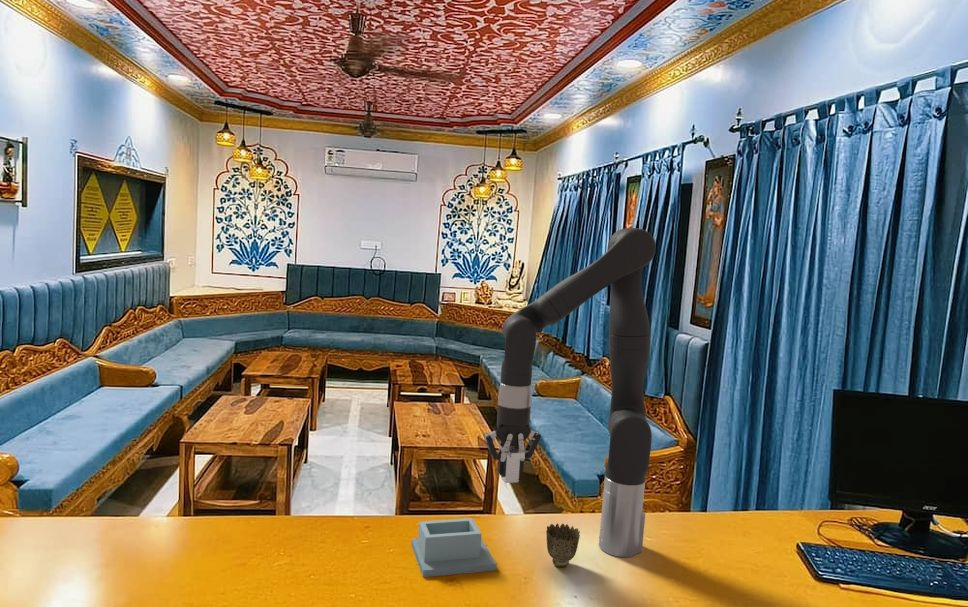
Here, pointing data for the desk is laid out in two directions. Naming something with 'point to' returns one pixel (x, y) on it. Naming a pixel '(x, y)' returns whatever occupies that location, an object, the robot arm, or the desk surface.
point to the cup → (562, 543)
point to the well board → (451, 548)
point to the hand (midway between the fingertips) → (509, 475)
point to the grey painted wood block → (513, 464)
